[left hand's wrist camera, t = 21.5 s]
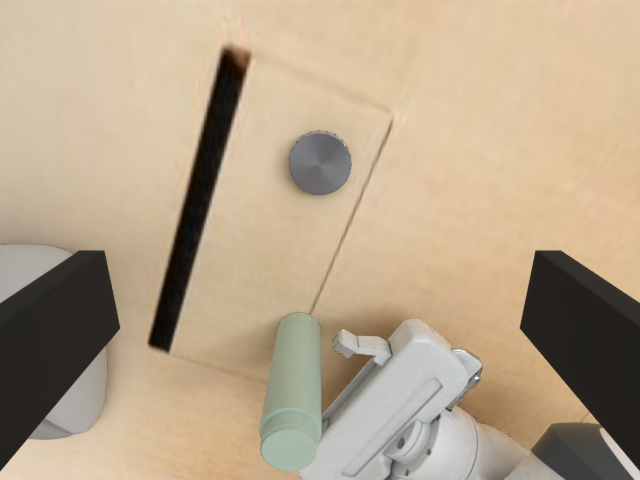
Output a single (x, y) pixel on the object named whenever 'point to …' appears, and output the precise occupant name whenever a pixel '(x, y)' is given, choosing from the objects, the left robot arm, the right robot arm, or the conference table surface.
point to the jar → (293, 395)
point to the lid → (320, 162)
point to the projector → (90, 388)
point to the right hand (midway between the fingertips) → (308, 373)
